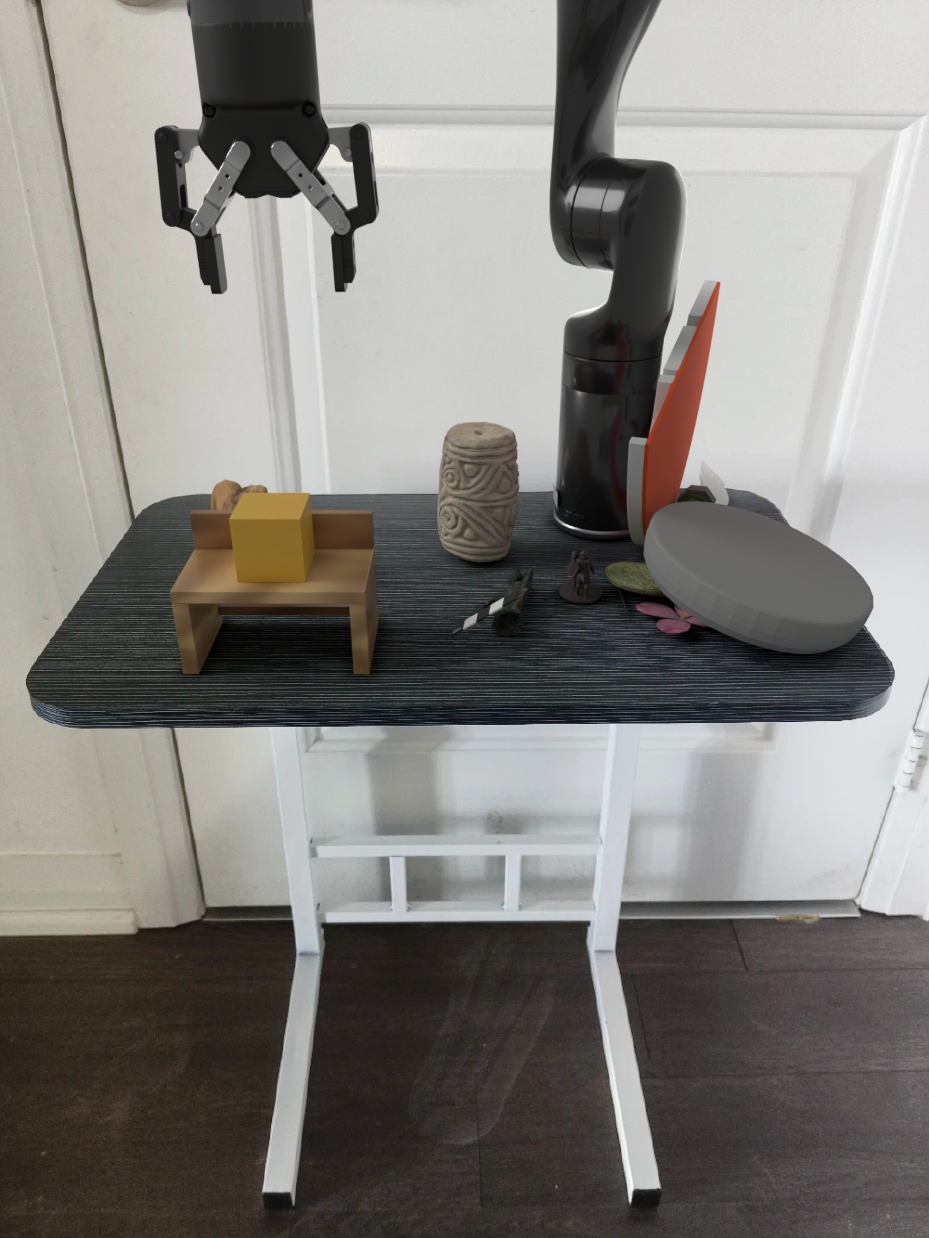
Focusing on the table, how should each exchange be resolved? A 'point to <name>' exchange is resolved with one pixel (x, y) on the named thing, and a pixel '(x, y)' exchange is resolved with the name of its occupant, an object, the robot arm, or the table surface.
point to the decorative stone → (755, 578)
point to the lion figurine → (231, 494)
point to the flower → (670, 617)
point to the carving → (478, 491)
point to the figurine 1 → (504, 607)
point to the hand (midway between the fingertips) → (280, 291)
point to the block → (272, 537)
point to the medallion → (632, 578)
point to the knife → (706, 488)
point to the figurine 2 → (582, 581)
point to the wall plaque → (671, 419)
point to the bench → (278, 584)
